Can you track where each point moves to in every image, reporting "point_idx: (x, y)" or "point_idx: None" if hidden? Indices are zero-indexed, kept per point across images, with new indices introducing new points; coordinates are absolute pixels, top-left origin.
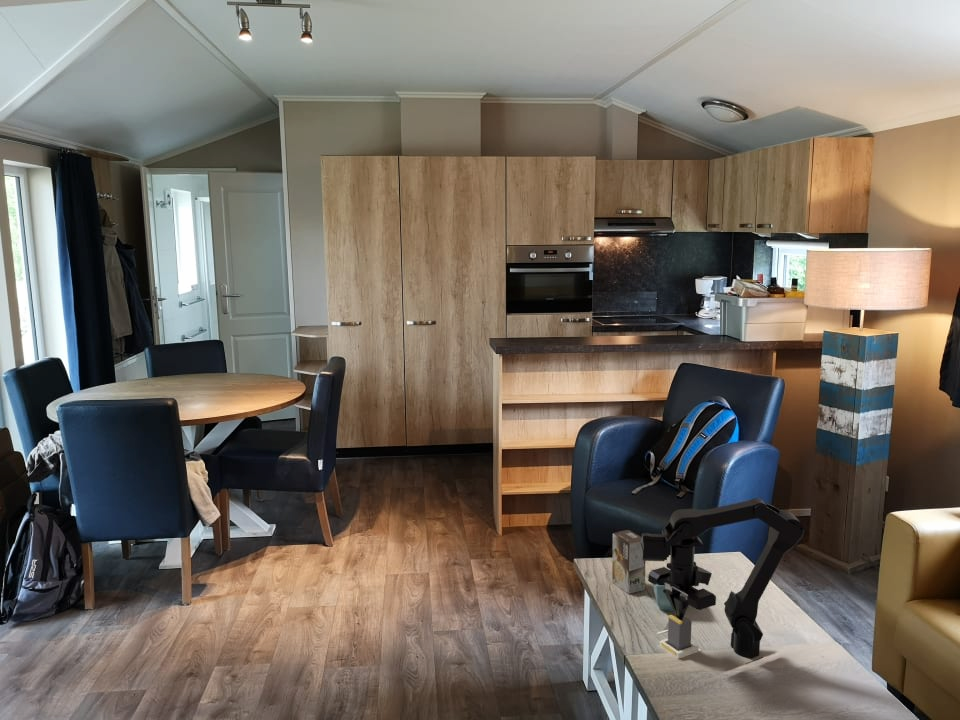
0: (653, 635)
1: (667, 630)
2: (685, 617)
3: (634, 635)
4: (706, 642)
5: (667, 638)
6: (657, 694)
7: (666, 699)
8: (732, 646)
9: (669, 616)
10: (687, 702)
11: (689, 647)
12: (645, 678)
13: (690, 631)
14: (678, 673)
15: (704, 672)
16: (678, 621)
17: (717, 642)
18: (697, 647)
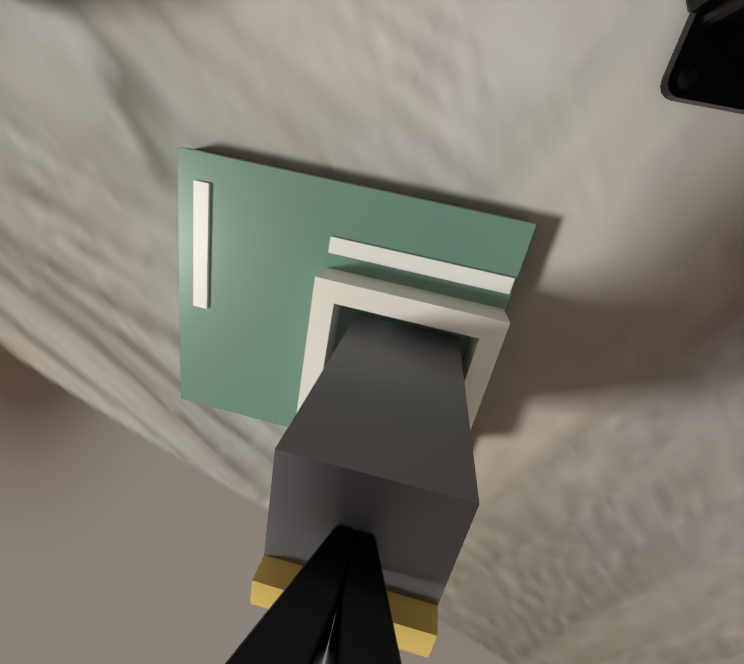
0: None
1: (203, 228)
2: (375, 485)
3: (142, 368)
4: (451, 90)
5: (301, 378)
6: (519, 647)
7: (565, 655)
8: (732, 23)
9: (262, 596)
10: (649, 638)
11: (468, 376)
12: None
13: (464, 420)
14: (506, 504)
15: (616, 423)
16: (401, 644)
17: (519, 3)
18: (506, 330)
